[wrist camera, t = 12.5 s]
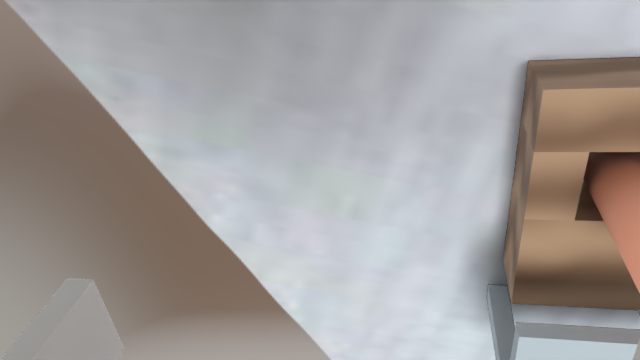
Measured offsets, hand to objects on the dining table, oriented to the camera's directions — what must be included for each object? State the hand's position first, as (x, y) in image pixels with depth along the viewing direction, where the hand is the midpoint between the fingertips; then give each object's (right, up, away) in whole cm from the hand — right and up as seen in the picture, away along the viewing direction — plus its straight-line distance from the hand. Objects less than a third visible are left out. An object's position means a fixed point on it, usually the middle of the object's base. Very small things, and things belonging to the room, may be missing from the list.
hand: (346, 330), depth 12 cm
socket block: (+20, +4, +26) cm, 33 cm away
